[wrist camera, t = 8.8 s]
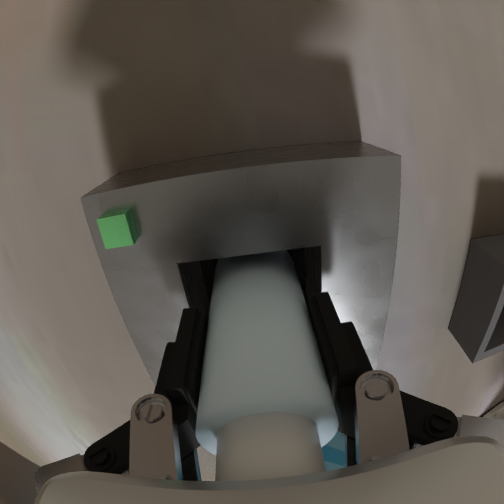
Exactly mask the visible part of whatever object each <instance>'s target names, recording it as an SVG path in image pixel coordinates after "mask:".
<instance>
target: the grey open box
mask: <svg viewBox="0 0 504 504" xmlns="http://www.w3.org/2000/svg"><path fill="white" fill-rule="evenodd" d="M448 329H449V331H450V332H451V333H452V335H453V336H454V337H455V339H456V340H457V342H458V343H459V345H460V346H461V347H462V349H463V350H464V352H465V353H466V355H467V356H468V358H469V359H470V360H471V362H472V363H475V362H477V361H479V360H482V359H484V358H487V357H489V356H491V355H493V354H496V353H498V352H500V351H502V350H504V234H501V235H495V236H488V237H482V238H476V239H471V242H470V247H469V252H468V257H467V262H466V266H465V271H464V275H463V279H462V283H461V287H460V291H459V294H458V298H457V302H456V305H455V308H454V312H453V315H452V318H451V321H450V324H449V328H448Z"/></svg>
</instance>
